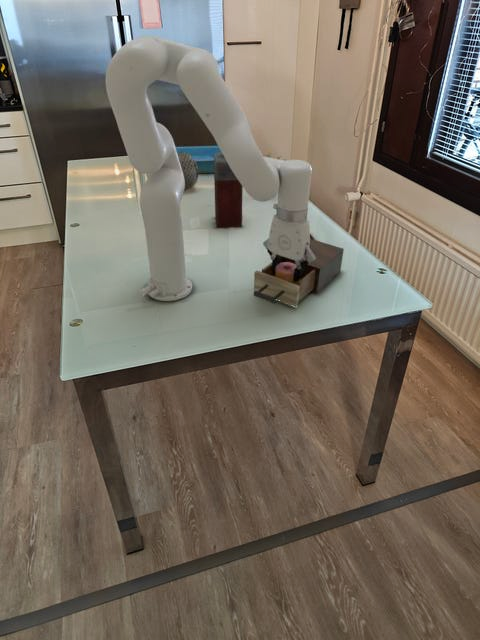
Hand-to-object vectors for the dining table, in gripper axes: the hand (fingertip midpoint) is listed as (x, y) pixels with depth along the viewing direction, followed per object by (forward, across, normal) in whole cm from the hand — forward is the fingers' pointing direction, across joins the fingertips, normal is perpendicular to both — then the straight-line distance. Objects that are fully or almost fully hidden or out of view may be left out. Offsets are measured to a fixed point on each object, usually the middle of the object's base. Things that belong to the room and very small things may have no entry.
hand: (286, 275), depth 125 cm
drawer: (+5, 0, -2) cm, 5 cm away
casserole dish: (+6, -91, +67) cm, 113 cm away
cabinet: (+5, 0, +12) cm, 13 cm away
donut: (+1, 0, 0) cm, 1 cm away
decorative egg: (+6, -76, +44) cm, 88 cm away
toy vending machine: (+6, -42, +29) cm, 51 cm away
